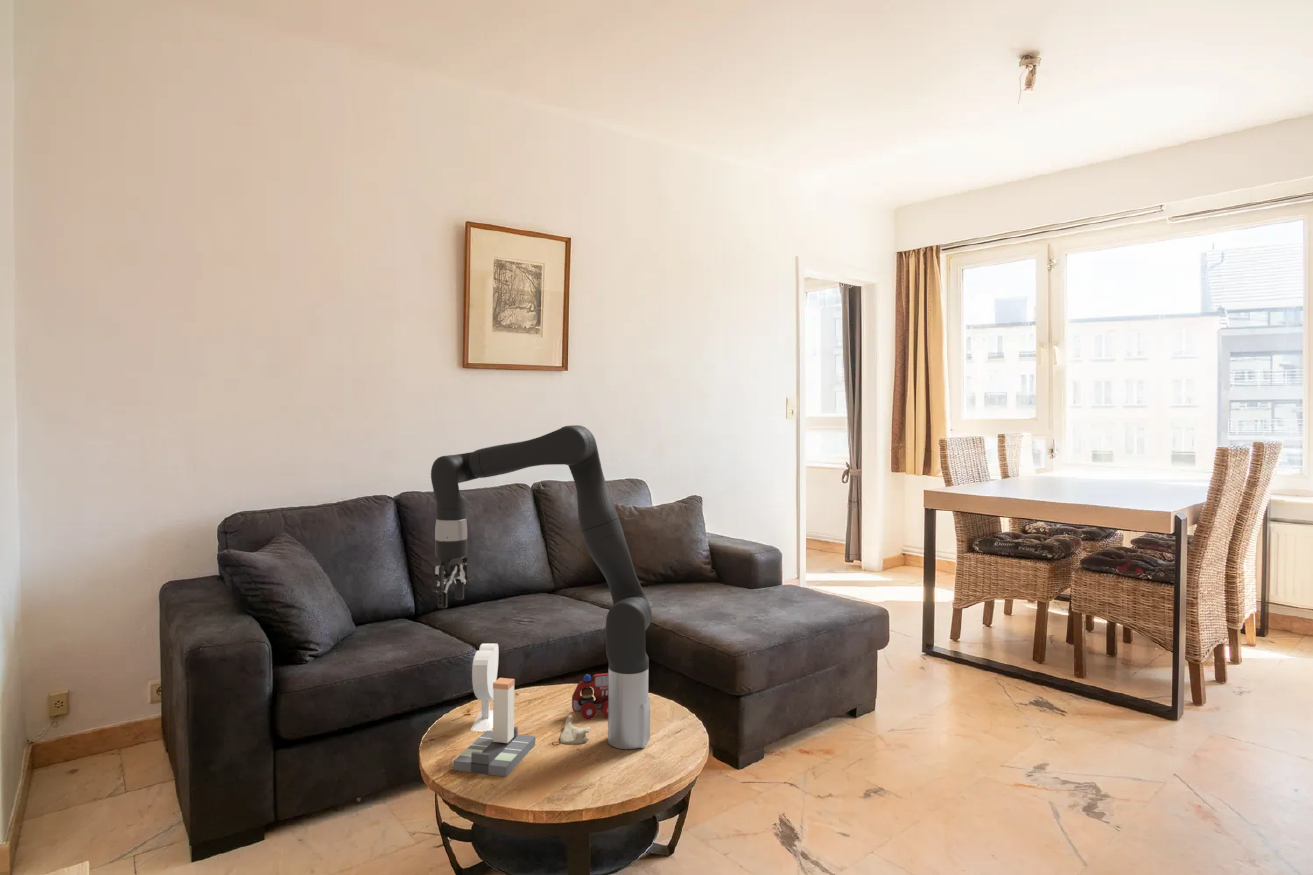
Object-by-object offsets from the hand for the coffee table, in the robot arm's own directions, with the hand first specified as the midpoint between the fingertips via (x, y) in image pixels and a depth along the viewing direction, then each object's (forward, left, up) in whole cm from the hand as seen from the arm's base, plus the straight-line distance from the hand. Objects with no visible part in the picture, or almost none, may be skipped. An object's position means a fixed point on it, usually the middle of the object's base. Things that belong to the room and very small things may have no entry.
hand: (451, 603), depth 187 cm
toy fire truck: (-33, -14, -30) cm, 46 cm away
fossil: (-32, -1, -30) cm, 44 cm away
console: (-19, +15, -29) cm, 38 cm away
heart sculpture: (-8, -3, -29) cm, 31 cm away
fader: (-19, +11, -27) cm, 35 cm away
